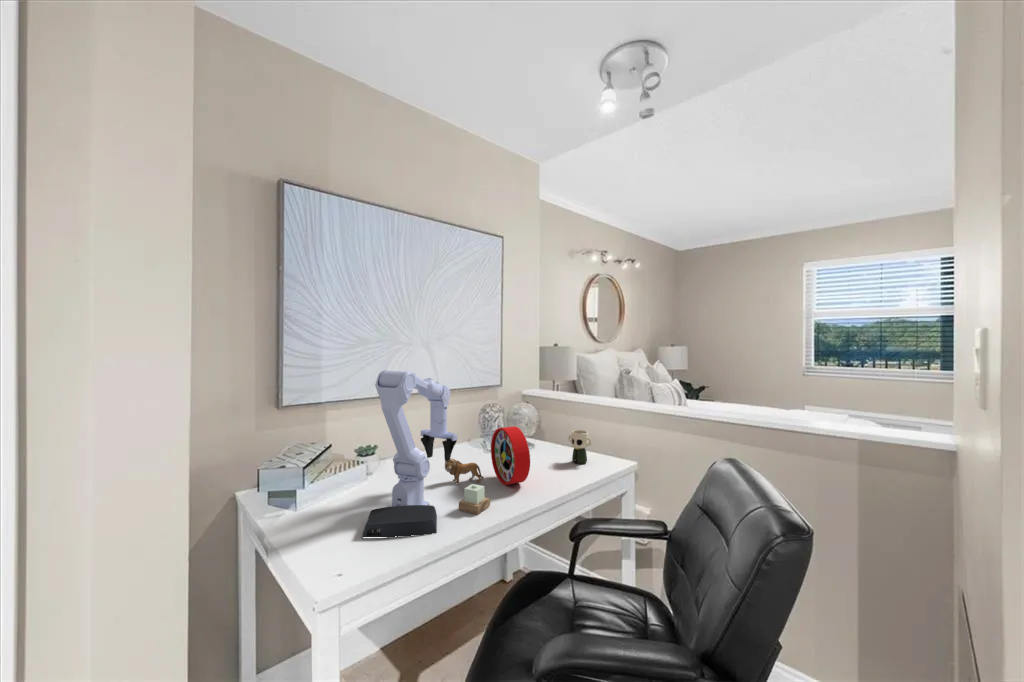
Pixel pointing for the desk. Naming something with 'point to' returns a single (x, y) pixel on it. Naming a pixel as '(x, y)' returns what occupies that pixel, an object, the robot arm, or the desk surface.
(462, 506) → the base brick
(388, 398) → the robot arm
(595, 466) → the desk surface
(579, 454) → the character mug
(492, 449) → the toy clock
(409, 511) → the external hard drive
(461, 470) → the lion figurine
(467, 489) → the sage brick
